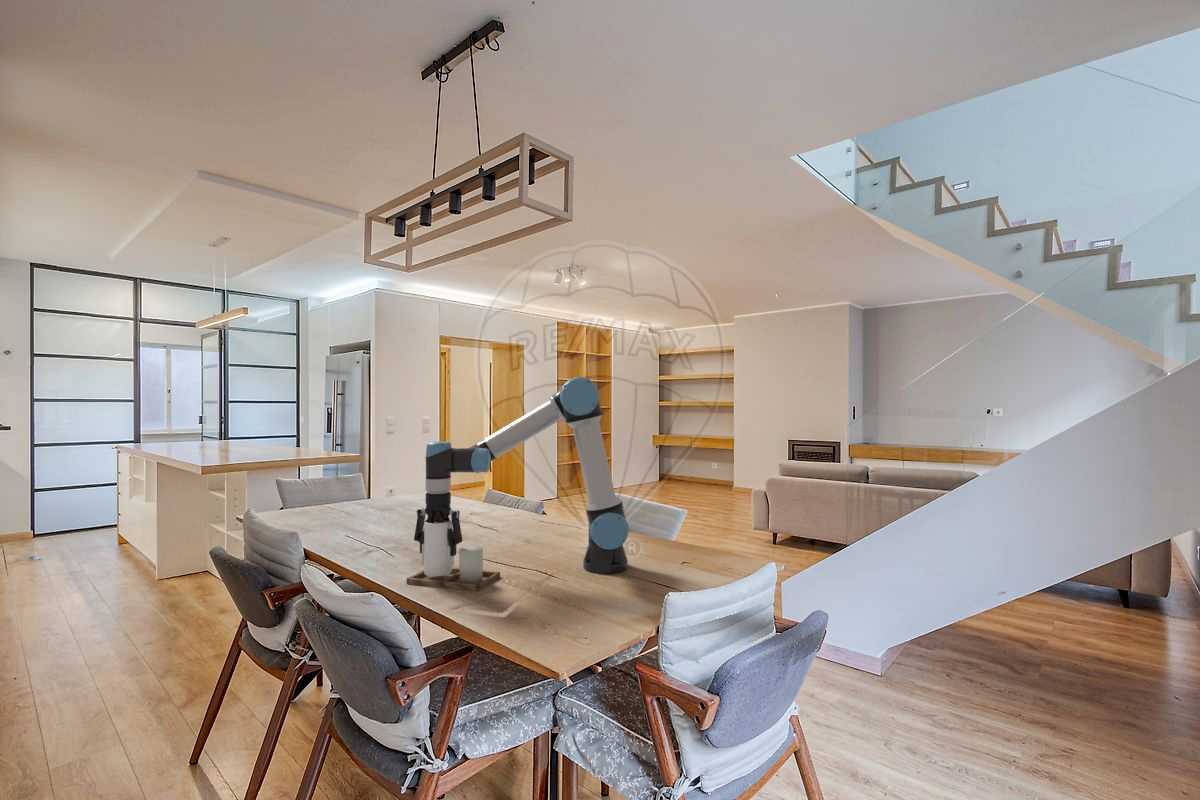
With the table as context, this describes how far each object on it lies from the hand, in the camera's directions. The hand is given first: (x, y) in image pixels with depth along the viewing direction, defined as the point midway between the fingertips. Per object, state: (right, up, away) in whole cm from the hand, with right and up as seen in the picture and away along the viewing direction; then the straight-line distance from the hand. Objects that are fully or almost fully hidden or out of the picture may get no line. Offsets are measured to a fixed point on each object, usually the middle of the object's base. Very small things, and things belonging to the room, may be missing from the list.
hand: (438, 564), depth 175 cm
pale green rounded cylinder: (+11, -4, -3) cm, 12 cm away
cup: (0, -2, 0) cm, 2 cm away
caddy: (+5, -5, -2) cm, 8 cm away
